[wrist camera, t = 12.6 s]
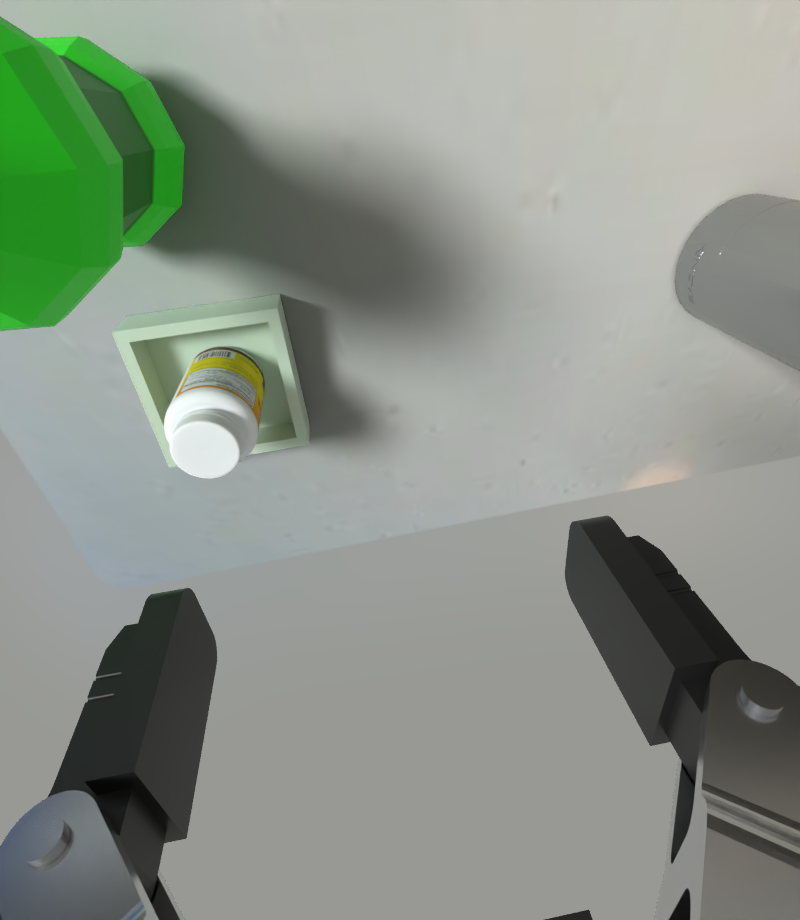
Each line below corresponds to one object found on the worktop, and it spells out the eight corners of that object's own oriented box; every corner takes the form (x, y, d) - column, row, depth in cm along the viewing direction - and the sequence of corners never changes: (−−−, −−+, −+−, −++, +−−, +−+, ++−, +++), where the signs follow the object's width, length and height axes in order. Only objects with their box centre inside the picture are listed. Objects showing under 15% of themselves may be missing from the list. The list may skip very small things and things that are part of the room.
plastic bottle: (33, -13, 27) (-909, -449, 6) (230, 121, 31) (68, 132, 10) (-12, 175, 31) (-675, 295, 10) (168, 271, 35) (-39, 495, 14)
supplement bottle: (233, 425, 41) (213, 505, 32) (172, 378, 38) (132, 453, 30) (282, 378, 39) (274, 450, 31) (221, 326, 37) (194, 389, 28)
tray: (279, 294, 37) (277, 308, 34) (309, 424, 43) (309, 444, 40) (126, 315, 36) (111, 332, 33) (178, 444, 42) (169, 467, 39)
